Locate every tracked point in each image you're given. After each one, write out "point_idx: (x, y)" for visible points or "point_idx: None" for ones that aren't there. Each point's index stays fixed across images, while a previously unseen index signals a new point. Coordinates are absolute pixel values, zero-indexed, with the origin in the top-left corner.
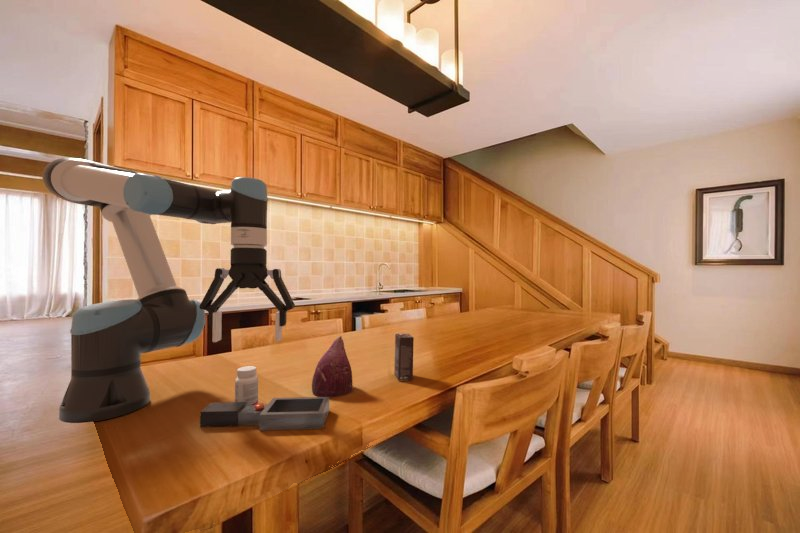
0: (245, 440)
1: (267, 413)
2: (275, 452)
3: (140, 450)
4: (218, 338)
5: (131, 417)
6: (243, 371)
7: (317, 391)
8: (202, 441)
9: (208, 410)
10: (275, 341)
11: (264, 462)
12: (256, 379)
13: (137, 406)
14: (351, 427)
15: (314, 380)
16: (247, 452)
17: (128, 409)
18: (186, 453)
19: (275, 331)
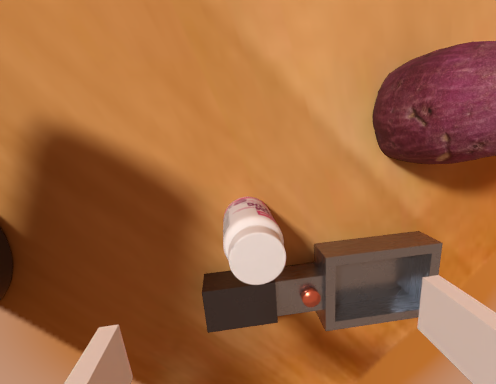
0: (305, 337)
1: (338, 324)
2: (357, 358)
3: (168, 375)
4: (120, 365)
5: (37, 288)
6: (260, 284)
7: (397, 158)
8: (242, 346)
9: (220, 326)
10: (419, 329)
11: (350, 377)
12: (283, 245)
13: (6, 263)
14: None
15: (404, 142)
16: (321, 362)
17: (4, 282)
18: (240, 373)
19: (467, 377)
